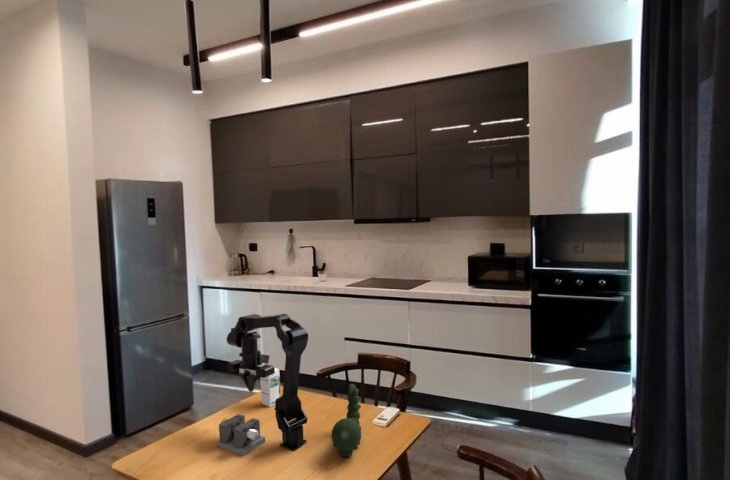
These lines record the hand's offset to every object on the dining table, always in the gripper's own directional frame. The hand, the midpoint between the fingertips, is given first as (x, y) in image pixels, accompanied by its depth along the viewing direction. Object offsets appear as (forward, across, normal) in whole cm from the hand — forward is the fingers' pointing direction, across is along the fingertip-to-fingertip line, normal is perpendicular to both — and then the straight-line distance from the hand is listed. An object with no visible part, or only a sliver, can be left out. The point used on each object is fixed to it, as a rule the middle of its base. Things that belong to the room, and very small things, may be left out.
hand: (251, 391), depth 157 cm
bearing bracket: (+13, -6, +12) cm, 18 cm away
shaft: (+11, -6, +12) cm, 17 cm away
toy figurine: (+13, -39, -4) cm, 42 cm away
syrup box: (+13, +8, -19) cm, 24 cm away
